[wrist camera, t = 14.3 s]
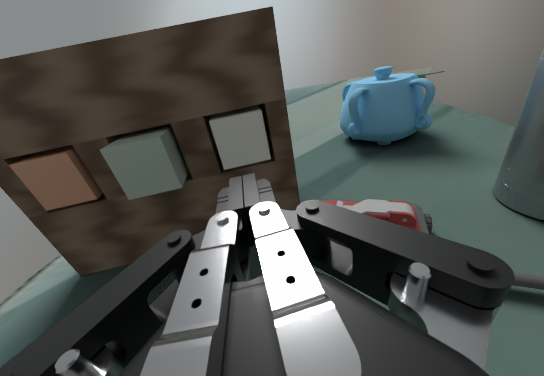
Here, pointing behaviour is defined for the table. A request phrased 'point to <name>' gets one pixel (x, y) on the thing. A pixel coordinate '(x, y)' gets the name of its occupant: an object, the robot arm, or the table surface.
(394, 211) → the walkie-talkie
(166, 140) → the sage key
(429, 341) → the robot arm
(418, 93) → the decorative pot
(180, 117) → the keypad panel
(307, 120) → the table surface
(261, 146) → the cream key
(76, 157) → the terracotta key
